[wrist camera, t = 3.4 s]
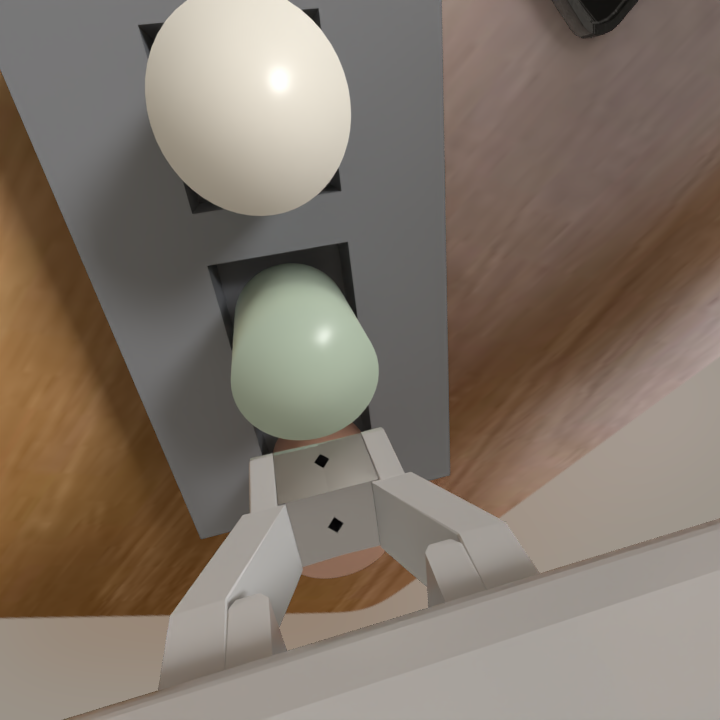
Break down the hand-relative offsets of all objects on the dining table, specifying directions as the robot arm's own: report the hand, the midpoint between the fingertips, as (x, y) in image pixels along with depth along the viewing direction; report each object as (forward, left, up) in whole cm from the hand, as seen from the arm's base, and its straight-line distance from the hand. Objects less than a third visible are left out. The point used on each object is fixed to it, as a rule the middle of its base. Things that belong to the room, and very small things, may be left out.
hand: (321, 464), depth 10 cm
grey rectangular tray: (0, 0, -12) cm, 12 cm away
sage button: (0, 0, -9) cm, 9 cm away
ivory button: (0, -7, -9) cm, 11 cm away
